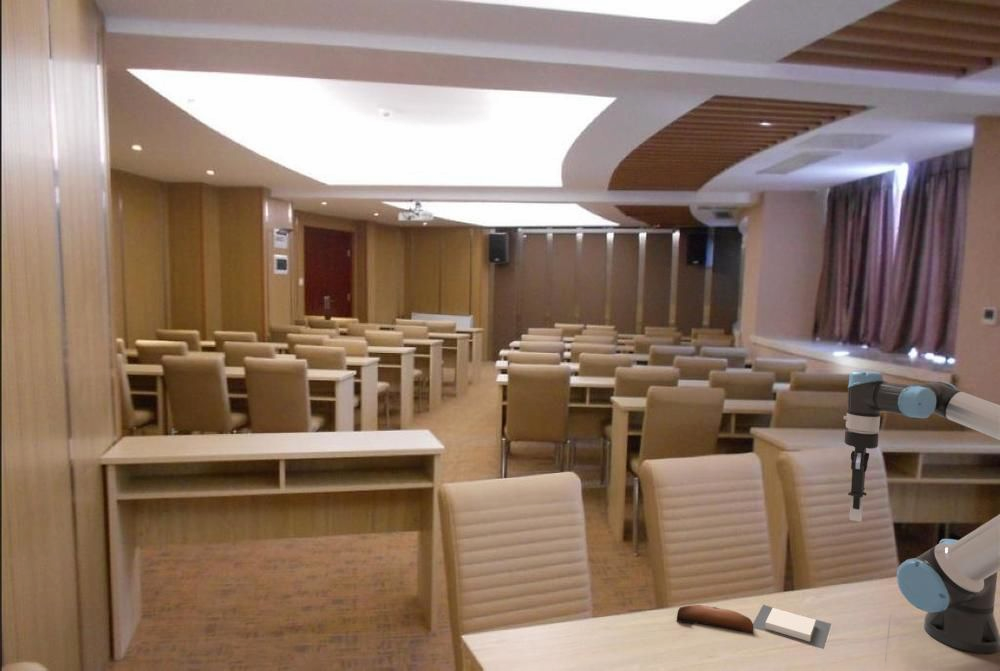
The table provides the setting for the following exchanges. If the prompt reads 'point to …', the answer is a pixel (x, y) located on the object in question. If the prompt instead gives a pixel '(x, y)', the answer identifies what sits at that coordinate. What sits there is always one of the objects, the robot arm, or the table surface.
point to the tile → (790, 624)
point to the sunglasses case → (715, 617)
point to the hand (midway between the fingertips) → (855, 519)
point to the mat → (816, 640)
